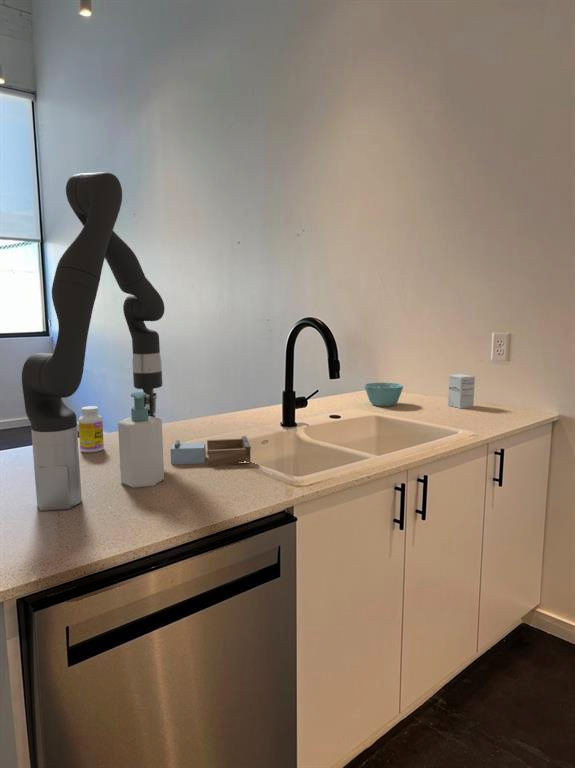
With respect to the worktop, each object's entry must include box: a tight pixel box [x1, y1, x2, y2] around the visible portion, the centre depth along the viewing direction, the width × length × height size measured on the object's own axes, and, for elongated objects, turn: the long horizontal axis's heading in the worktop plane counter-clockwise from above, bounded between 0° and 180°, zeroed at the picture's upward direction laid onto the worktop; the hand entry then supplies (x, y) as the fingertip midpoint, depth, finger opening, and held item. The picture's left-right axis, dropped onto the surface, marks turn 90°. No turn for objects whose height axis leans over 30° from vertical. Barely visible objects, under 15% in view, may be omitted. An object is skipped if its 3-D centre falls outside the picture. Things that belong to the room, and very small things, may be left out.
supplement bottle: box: [78, 405, 105, 454], centre depth 169 cm, size 7×7×13 cm
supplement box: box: [447, 373, 476, 409], centre depth 231 cm, size 7×7×13 cm
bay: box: [206, 435, 252, 467], centre depth 161 cm, size 12×11×5 cm
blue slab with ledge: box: [170, 439, 207, 465], centre depth 159 cm, size 6×9×6 cm, turn 95°
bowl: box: [363, 381, 404, 407], centre depth 236 cm, size 16×16×8 cm
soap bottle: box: [117, 391, 165, 489], centre depth 140 cm, size 10×9×22 cm
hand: (150, 432), depth 157 cm, fingers closed
